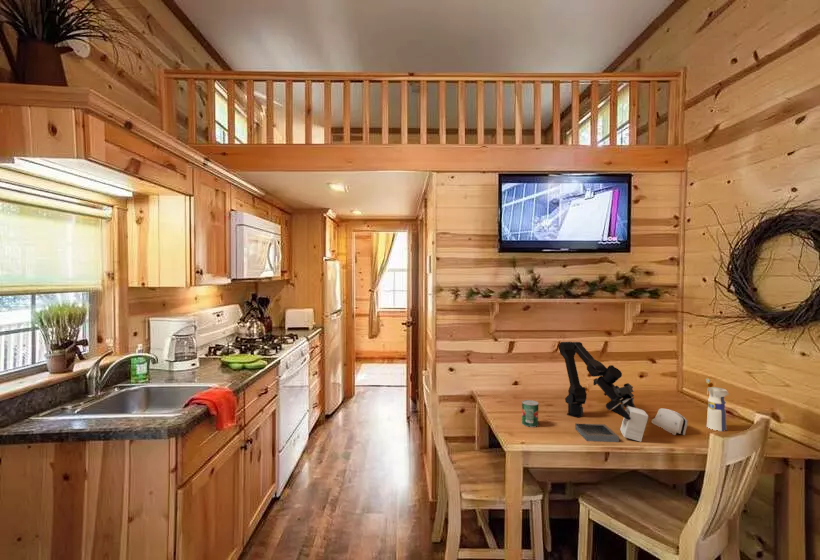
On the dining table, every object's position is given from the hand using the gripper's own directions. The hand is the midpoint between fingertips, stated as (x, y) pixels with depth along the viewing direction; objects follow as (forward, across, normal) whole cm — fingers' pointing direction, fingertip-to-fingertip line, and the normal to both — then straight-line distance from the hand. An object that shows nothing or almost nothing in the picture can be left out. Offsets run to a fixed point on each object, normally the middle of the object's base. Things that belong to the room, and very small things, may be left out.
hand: (633, 417), depth 176 cm
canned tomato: (-22, -21, +35) cm, 47 cm away
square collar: (-2, -9, +16) cm, 19 cm away
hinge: (+12, +28, +3) cm, 30 cm away
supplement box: (+5, 0, +8) cm, 9 cm away
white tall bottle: (+22, +46, -7) cm, 51 cm away
